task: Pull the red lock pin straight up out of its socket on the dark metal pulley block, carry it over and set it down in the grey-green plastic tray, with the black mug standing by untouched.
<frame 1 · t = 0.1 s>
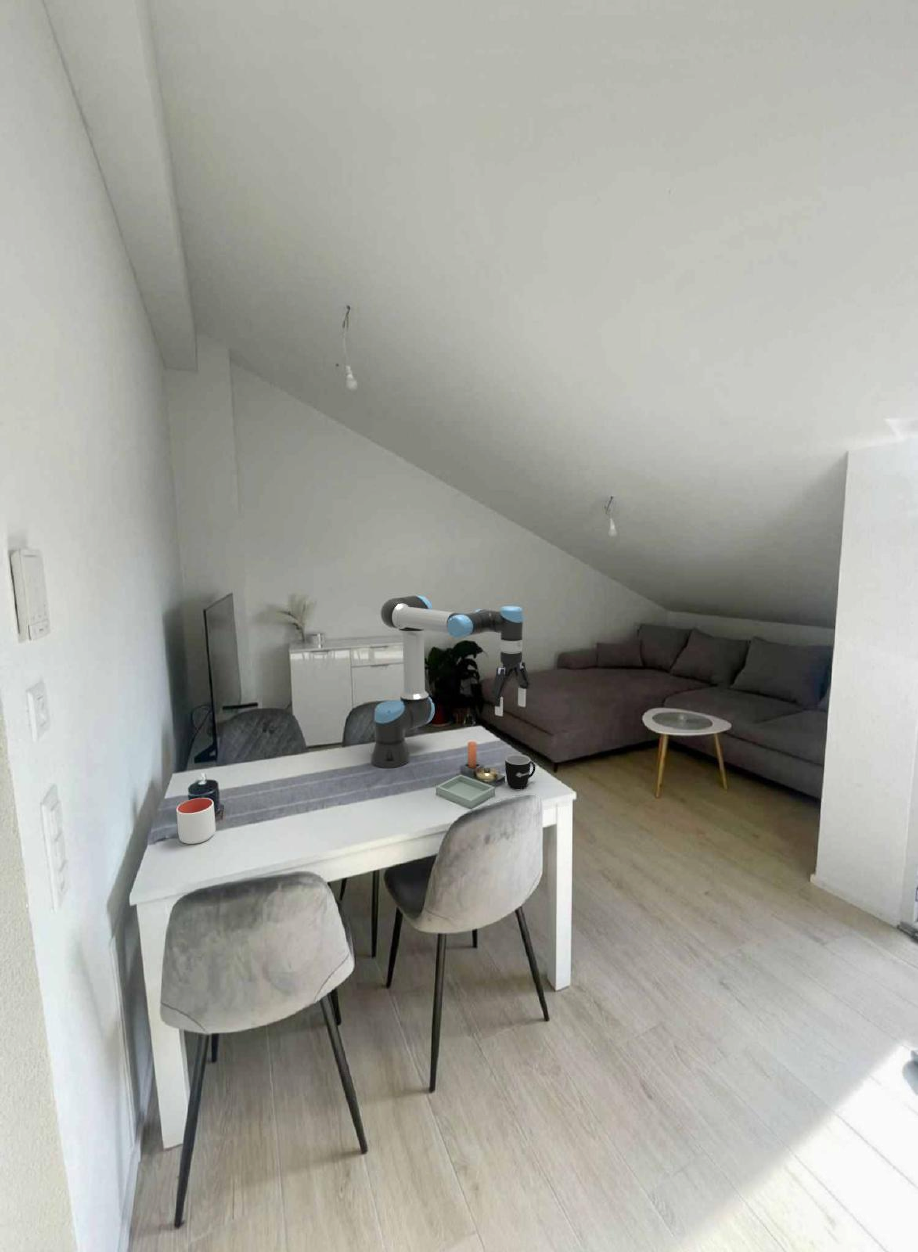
hand: (510, 710, 196), 28 cm above the table, fingers open, 13 cm apart
lock pin: (472, 771, 206), point 2 cm above the table, touching pulley block
pulley block: (480, 781, 204), on the table
cup: (197, 837, 167), on the table
mug: (520, 785, 201), on the table
tray: (465, 795, 193), on the table
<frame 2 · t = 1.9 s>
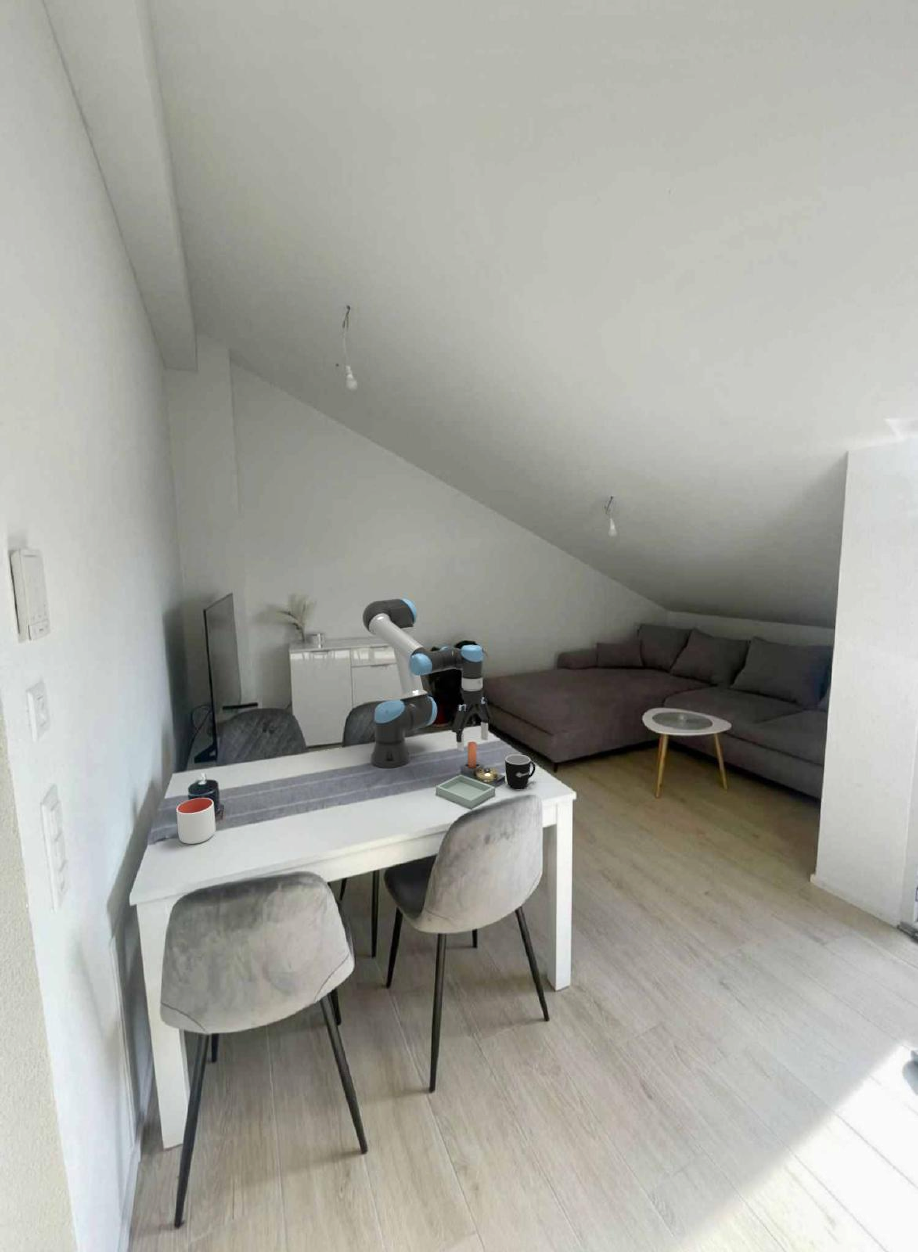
hand: (472, 744, 204), 13 cm above the table, fingers open, 13 cm apart
nothing on the table moved.
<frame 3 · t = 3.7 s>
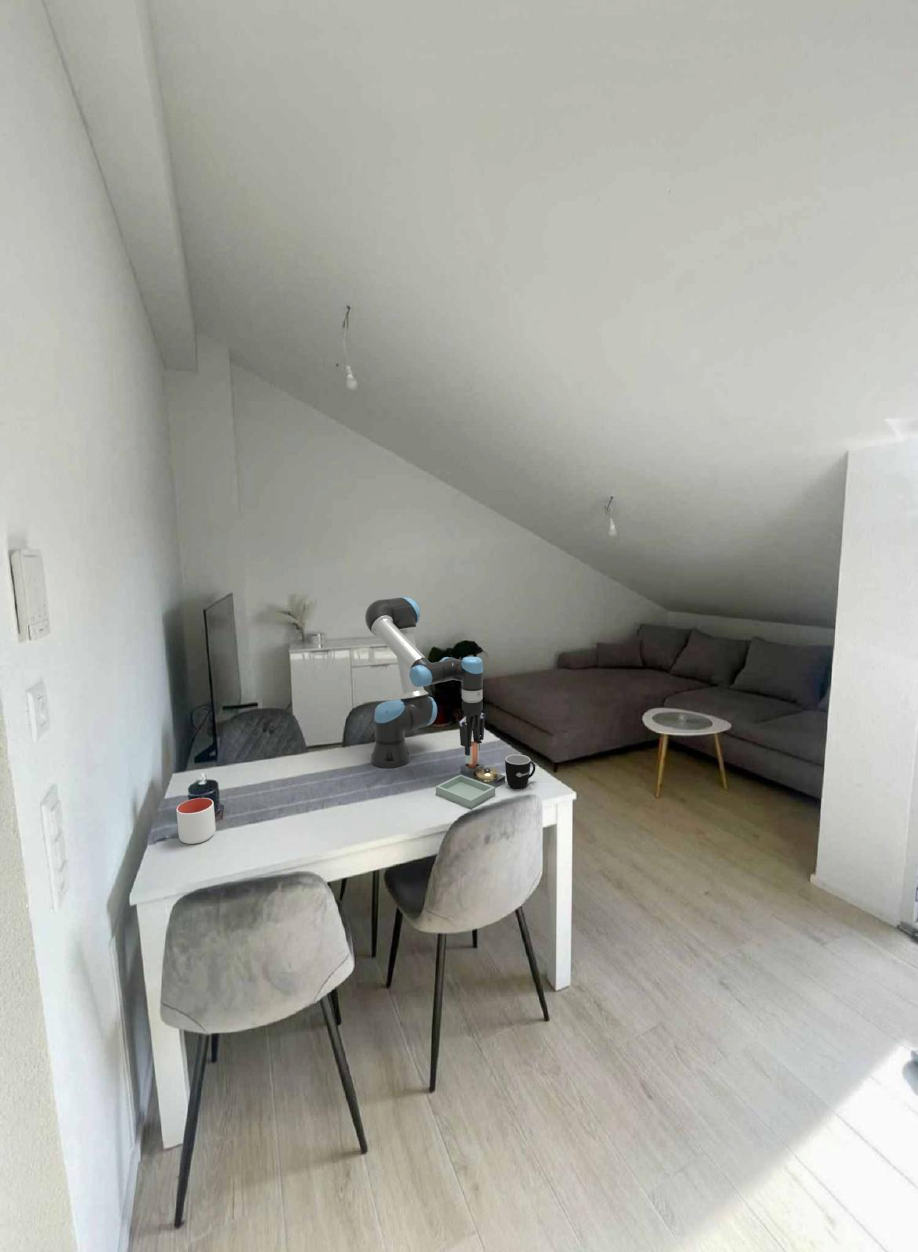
hand: (472, 761, 205), 7 cm above the table, fingers closed on lock pin, 3 cm apart
lock pin: (472, 771, 206), point 3 cm above the table, touching gripper
everything else where it was.
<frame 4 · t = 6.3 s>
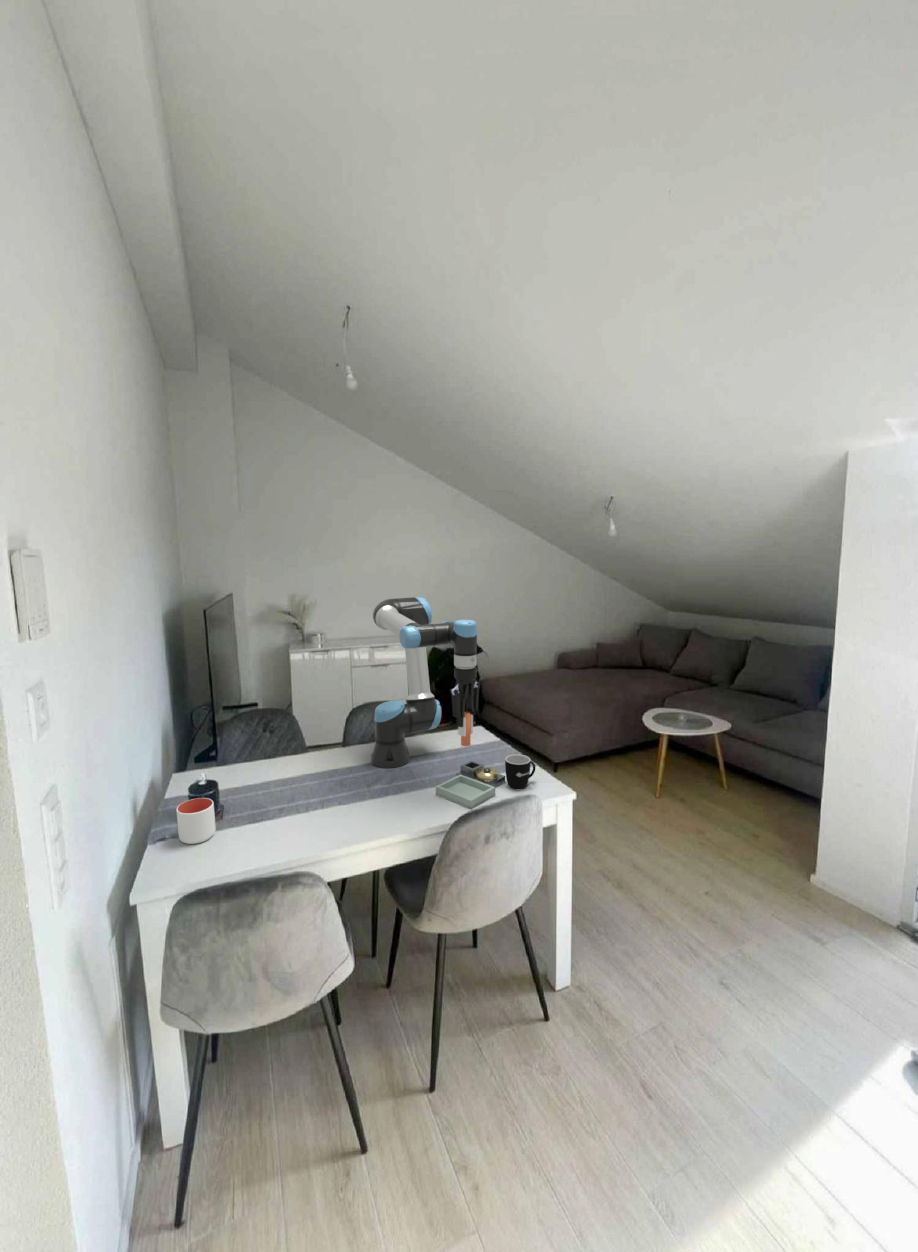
hand: (465, 733, 189), 22 cm above the table, fingers closed on lock pin, 3 cm apart
lock pin: (465, 744, 190), point 18 cm above the table, touching gripper
everything else where it was.
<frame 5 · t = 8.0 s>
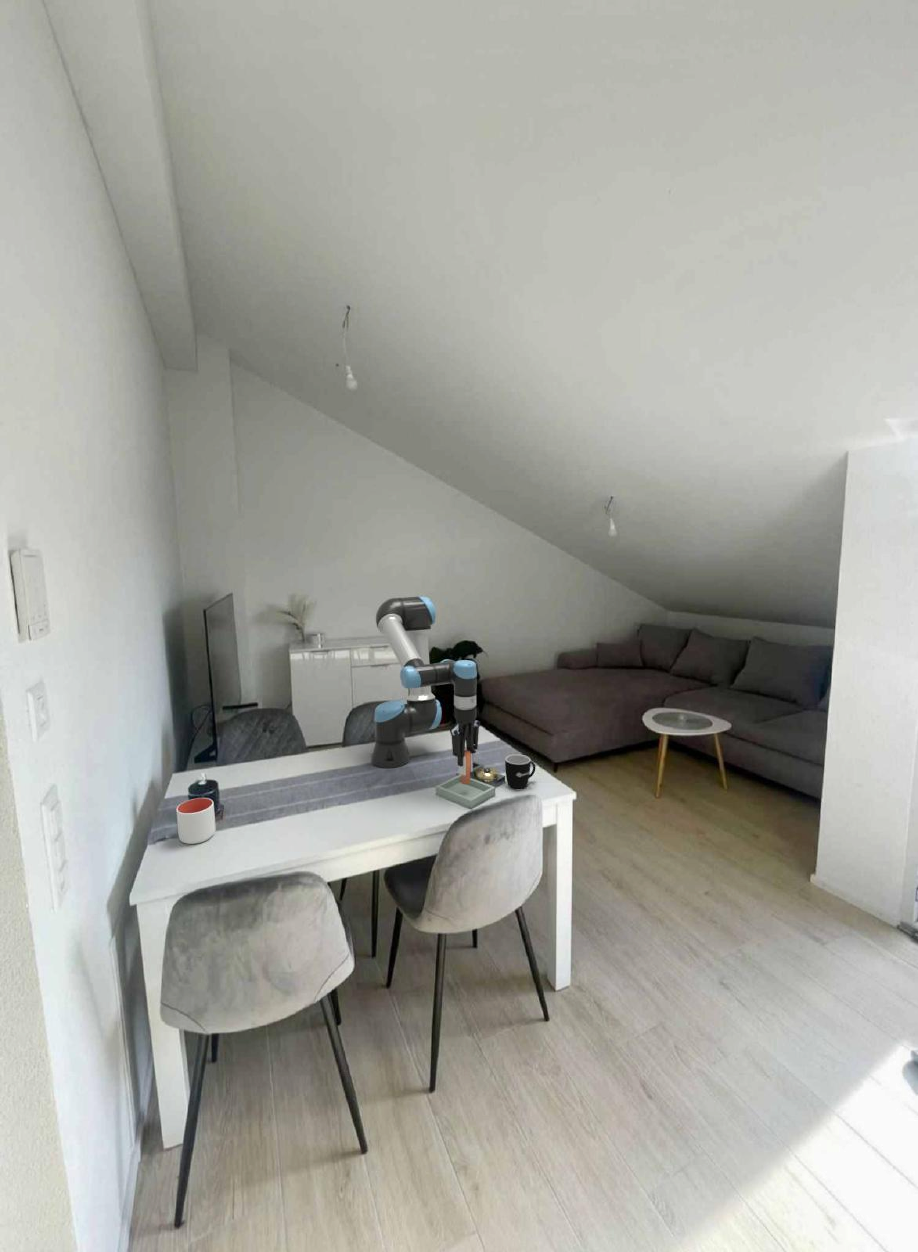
hand: (465, 772, 192), 8 cm above the table, fingers closed on lock pin, 3 cm apart
lock pin: (465, 782, 192), point 5 cm above the table, touching gripper
everything else where it was.
when the fingers open (5 cm above the table, at t = 9.2 s): lock pin stays where it is, resting on tray.
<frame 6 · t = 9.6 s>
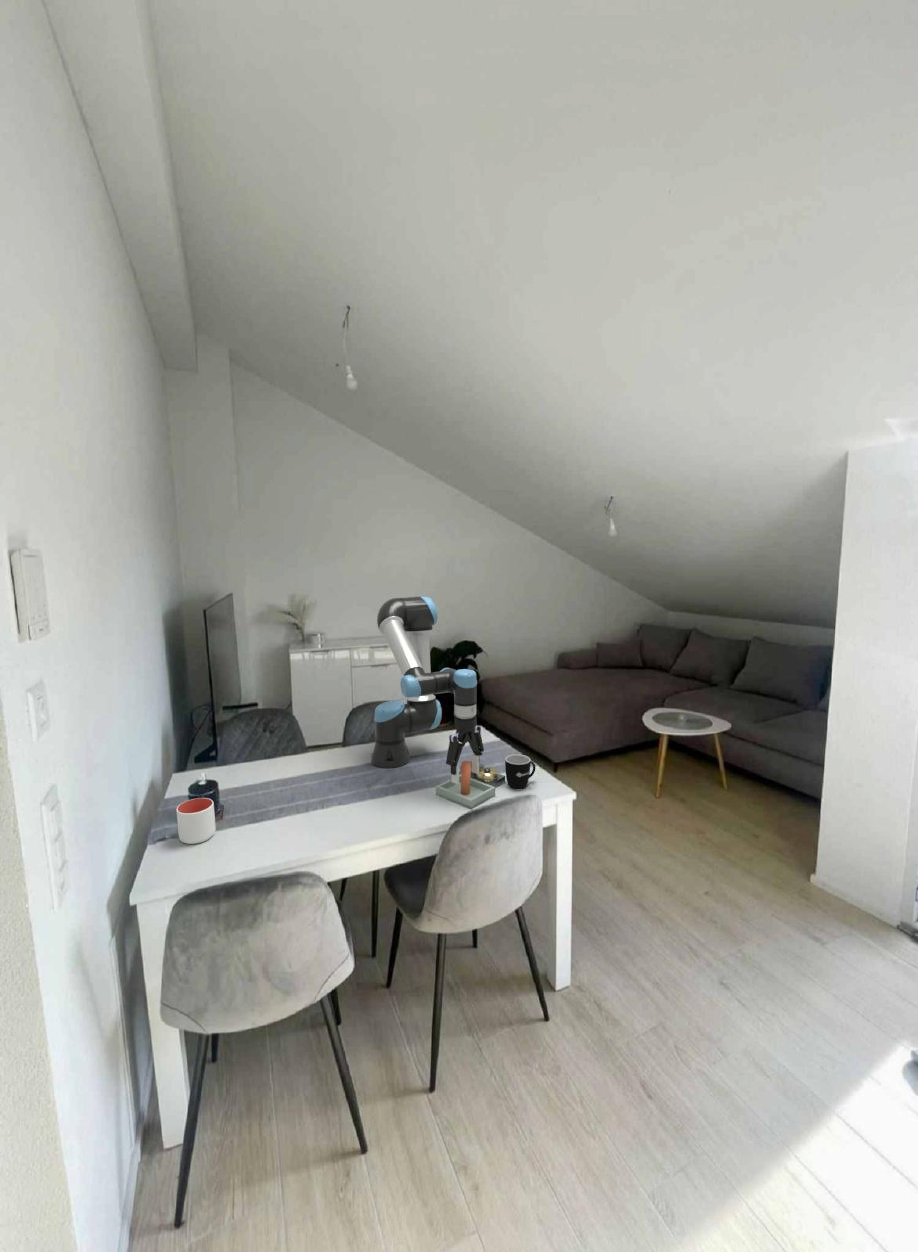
hand: (465, 777, 192), 6 cm above the table, fingers open, 10 cm apart
lock pin: (465, 792, 193), point 1 cm above the table, touching tray
everything else where it was.
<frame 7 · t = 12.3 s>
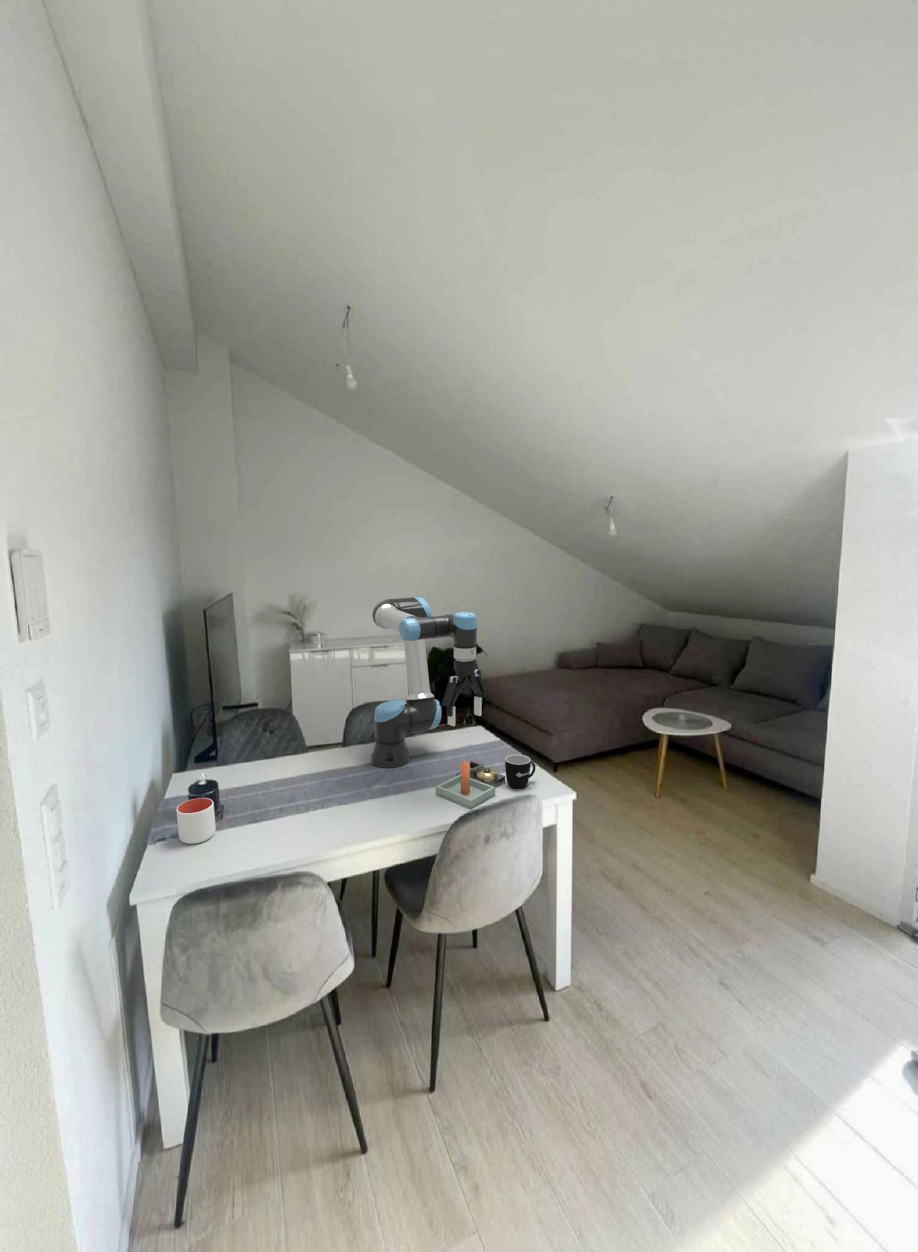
hand: (465, 720, 189), 27 cm above the table, fingers open, 13 cm apart
nothing on the table moved.
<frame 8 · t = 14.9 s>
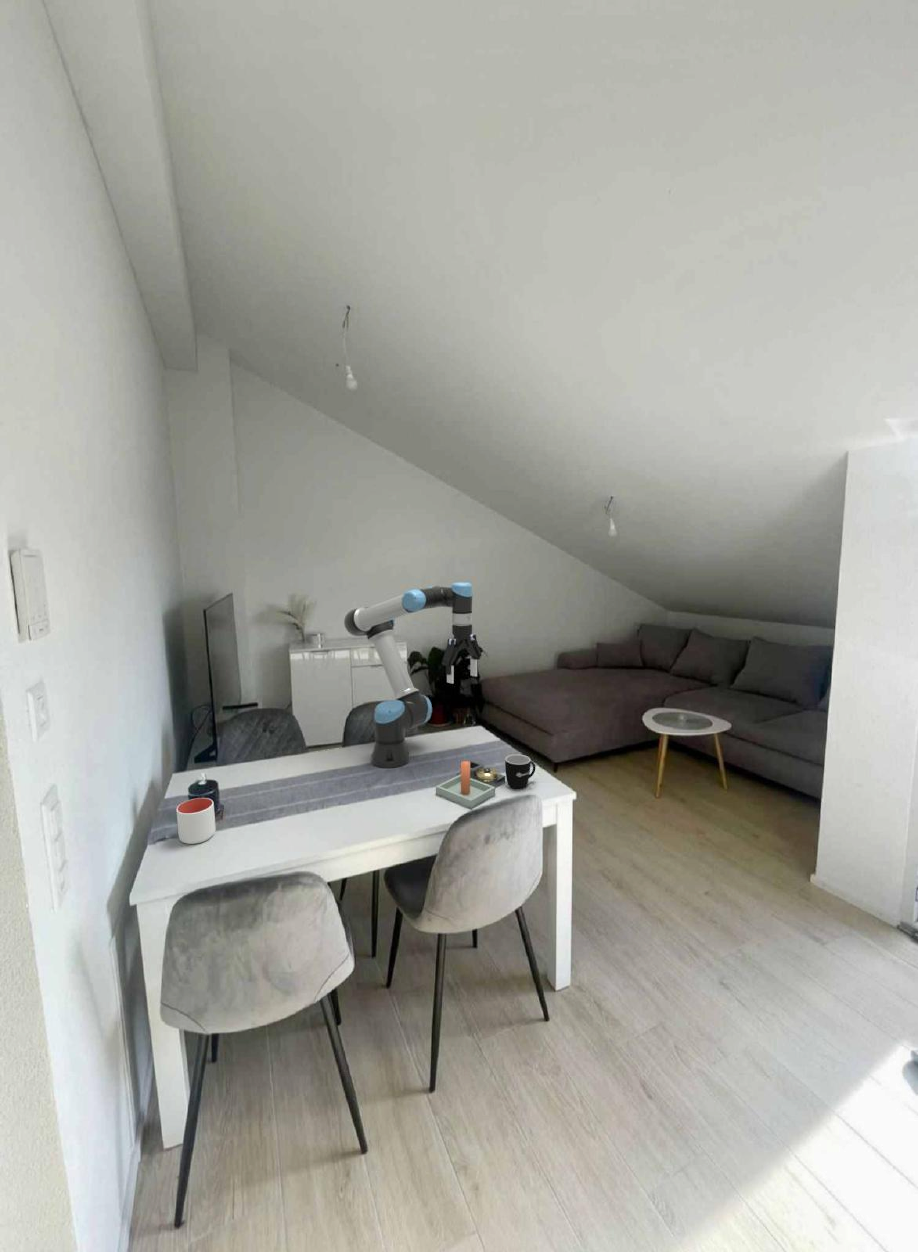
hand: (462, 679, 212), 35 cm above the table, fingers open, 13 cm apart
nothing on the table moved.
at the end: lock pin inside the target area on the tray (0.1 cm from its centre), point 0.8 cm above the tray's base; the gripper is holding nothing; lock pin touching tray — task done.
